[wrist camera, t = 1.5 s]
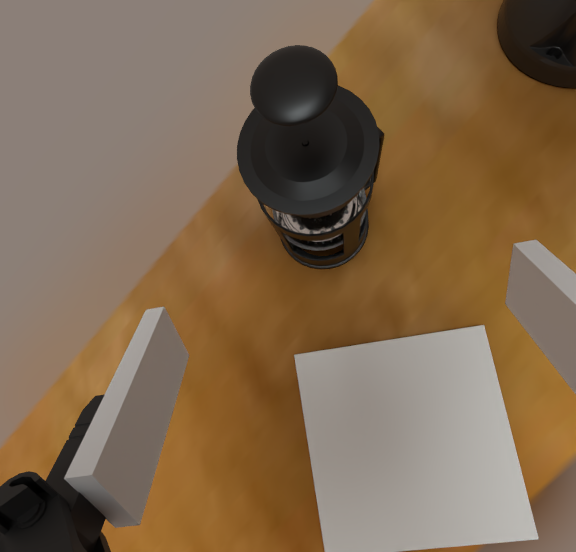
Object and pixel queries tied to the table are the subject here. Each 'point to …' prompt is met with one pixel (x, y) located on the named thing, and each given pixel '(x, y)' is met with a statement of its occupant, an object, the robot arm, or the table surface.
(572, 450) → the table surface
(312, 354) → the white square mat
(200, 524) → the table surface
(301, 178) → the french press
